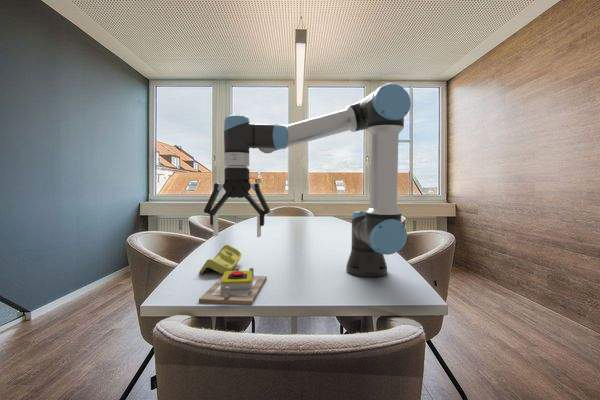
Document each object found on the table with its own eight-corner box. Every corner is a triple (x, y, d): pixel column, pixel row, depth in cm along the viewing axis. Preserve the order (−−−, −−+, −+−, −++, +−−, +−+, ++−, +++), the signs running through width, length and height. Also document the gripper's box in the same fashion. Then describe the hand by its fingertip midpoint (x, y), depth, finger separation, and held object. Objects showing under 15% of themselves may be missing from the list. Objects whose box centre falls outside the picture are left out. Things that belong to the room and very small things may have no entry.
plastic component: (230, 269, 113) (205, 257, 113) (222, 287, 114) (197, 274, 114) (244, 253, 133) (223, 242, 133) (237, 268, 134) (216, 257, 134)
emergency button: (219, 279, 91) (225, 265, 106) (219, 294, 92) (225, 278, 106) (251, 278, 92) (253, 265, 107) (251, 293, 93) (253, 277, 108)
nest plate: (224, 277, 111) (224, 266, 111) (266, 278, 110) (266, 267, 110) (198, 302, 88) (198, 288, 88) (252, 304, 87) (252, 290, 87)
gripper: (192, 166, 94) (193, 237, 95) (275, 167, 93) (275, 238, 94) (201, 167, 102) (202, 233, 103) (279, 168, 100) (278, 234, 101)
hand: (237, 236), depth 98 cm, fingers open, 13 cm apart
